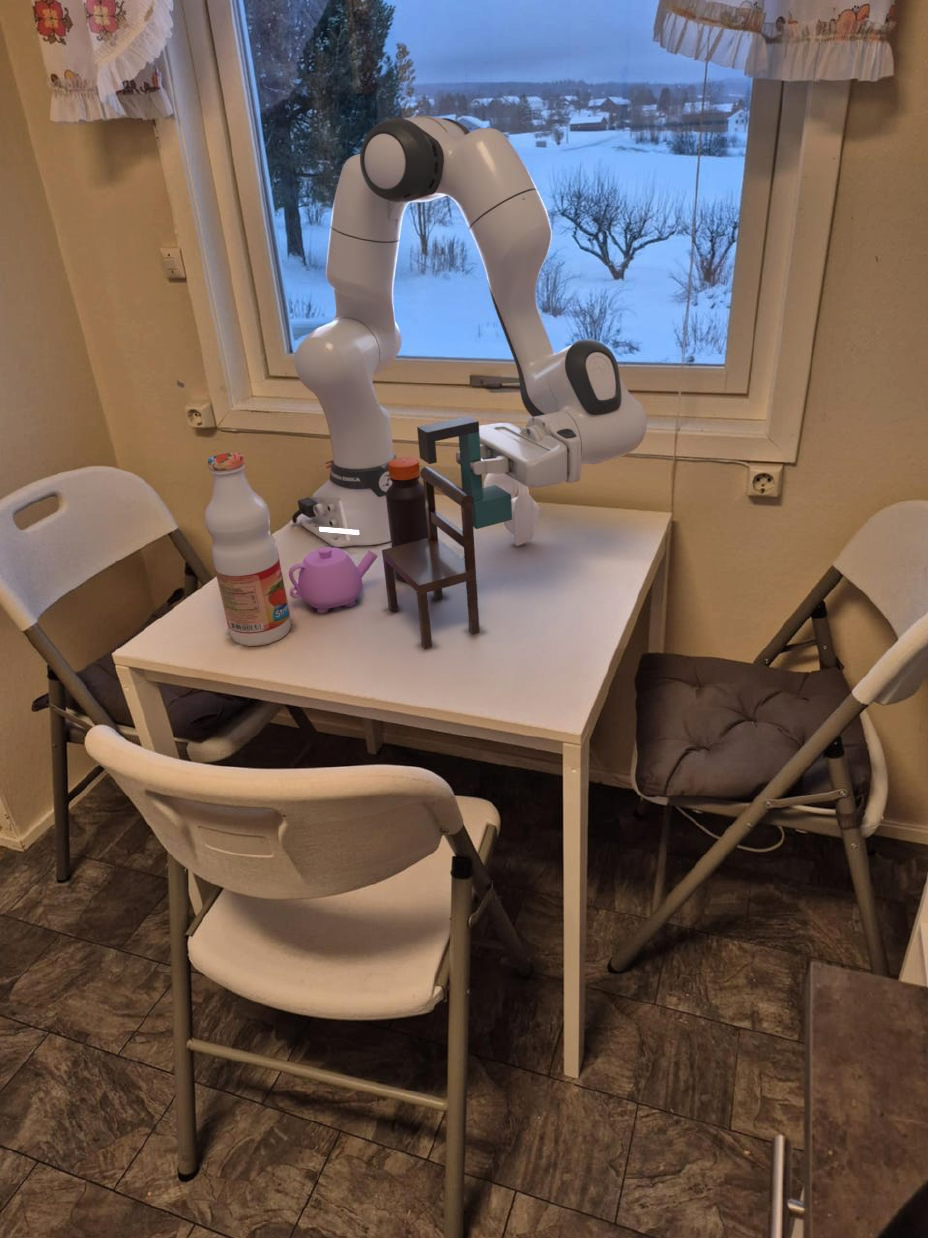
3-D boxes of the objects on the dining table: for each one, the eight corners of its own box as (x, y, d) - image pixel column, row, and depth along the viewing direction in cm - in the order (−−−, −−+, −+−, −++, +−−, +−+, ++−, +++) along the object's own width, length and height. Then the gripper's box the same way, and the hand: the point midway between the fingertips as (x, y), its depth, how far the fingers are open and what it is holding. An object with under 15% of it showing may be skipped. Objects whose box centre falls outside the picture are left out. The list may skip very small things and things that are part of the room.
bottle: (417, 561, 150) (406, 452, 140) (442, 573, 146) (433, 460, 136) (386, 575, 146) (373, 463, 136) (412, 587, 142) (400, 472, 132)
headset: (543, 544, 153) (542, 448, 144) (505, 550, 152) (501, 453, 143) (514, 504, 170) (512, 416, 161) (480, 509, 169) (475, 420, 160)
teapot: (285, 597, 141) (276, 545, 137) (372, 576, 146) (366, 526, 141) (300, 624, 133) (290, 571, 128) (391, 602, 138) (385, 549, 133)
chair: (442, 594, 139) (431, 465, 128) (482, 631, 128) (474, 493, 117) (388, 609, 136) (373, 478, 125) (425, 649, 124) (411, 508, 114)
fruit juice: (227, 624, 135) (187, 453, 121) (286, 611, 137) (254, 442, 123) (234, 653, 127) (192, 474, 113) (297, 639, 129) (264, 461, 115)
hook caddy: (496, 509, 130) (491, 409, 123) (512, 519, 127) (508, 416, 119) (424, 528, 126) (414, 425, 118) (437, 539, 122) (428, 433, 115)
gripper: (513, 407, 133) (432, 424, 128) (586, 441, 117) (497, 461, 112) (514, 446, 137) (436, 464, 132) (586, 484, 120) (499, 506, 115)
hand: (465, 463), depth 122 cm, fingers closed on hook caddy, 3 cm apart
